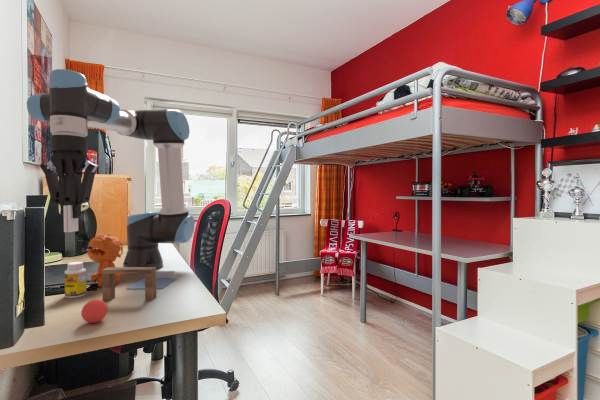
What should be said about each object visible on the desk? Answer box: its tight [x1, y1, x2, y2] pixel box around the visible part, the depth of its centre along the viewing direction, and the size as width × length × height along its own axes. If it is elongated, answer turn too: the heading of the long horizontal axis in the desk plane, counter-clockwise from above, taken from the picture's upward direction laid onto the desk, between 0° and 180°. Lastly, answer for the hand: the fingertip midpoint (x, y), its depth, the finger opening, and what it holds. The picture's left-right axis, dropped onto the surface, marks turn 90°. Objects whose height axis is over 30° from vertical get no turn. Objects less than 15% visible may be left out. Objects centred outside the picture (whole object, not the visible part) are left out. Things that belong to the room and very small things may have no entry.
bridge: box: [101, 266, 157, 302], centre depth 96 cm, size 3×14×9 cm, turn 91°
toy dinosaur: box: [85, 233, 124, 288], centre depth 111 cm, size 11×11×18 cm
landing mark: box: [125, 277, 177, 290], centre depth 112 cm, size 12×12×1 cm
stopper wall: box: [156, 270, 176, 279], centre depth 119 cm, size 2×10×2 cm, turn 91°
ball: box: [81, 298, 109, 324], centre depth 79 cm, size 6×6×6 cm
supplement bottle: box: [64, 261, 88, 299], centre depth 99 cm, size 6×6×10 cm
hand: (71, 231), depth 80 cm, fingers closed
